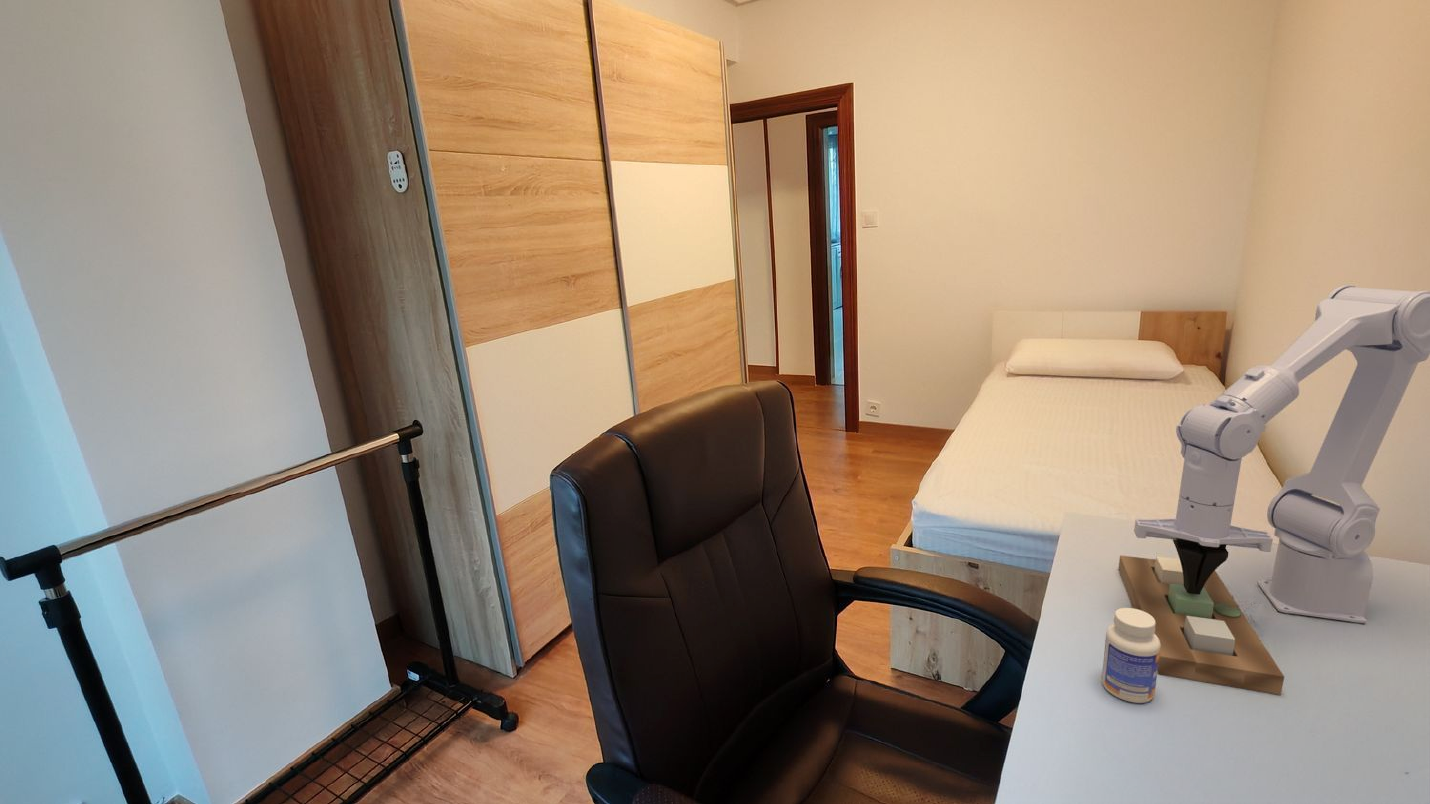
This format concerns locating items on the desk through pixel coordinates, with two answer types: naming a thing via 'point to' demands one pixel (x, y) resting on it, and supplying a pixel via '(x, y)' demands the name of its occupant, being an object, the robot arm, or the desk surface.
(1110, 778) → the desk surface
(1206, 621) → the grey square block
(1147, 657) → the pill bottle
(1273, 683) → the brown wooden slotted board
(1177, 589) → the sage button
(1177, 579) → the cream button
